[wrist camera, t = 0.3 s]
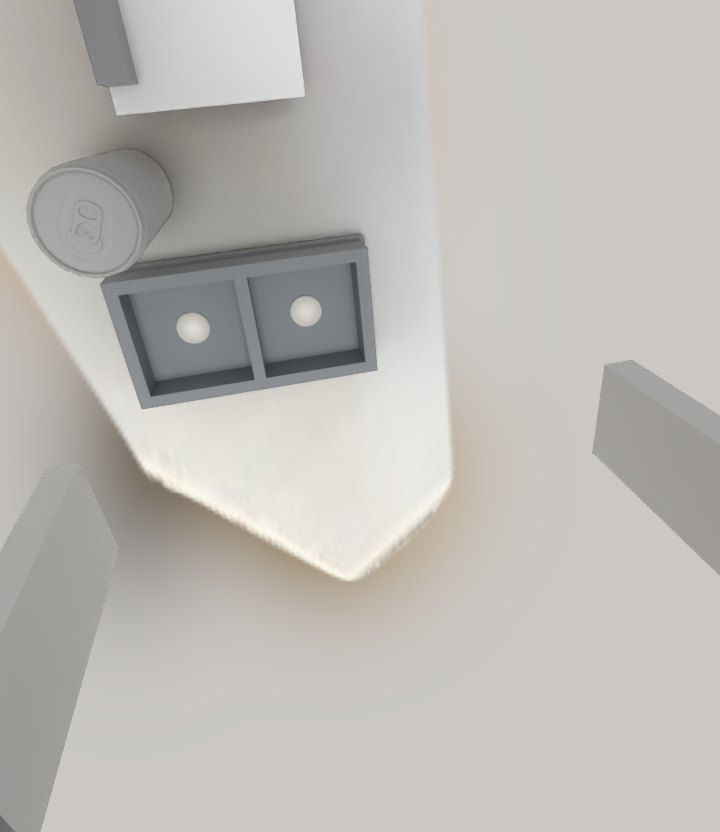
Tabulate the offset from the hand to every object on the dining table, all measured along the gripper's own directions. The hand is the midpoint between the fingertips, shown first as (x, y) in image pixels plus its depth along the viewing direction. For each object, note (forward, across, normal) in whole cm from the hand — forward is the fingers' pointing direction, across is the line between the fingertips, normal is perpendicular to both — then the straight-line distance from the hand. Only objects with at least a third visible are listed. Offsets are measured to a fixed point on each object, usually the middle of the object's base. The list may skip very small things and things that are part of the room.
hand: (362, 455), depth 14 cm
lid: (+22, -3, +13) cm, 26 cm away
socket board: (+27, -3, -5) cm, 27 cm away
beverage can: (+27, -9, +4) cm, 29 cm away
